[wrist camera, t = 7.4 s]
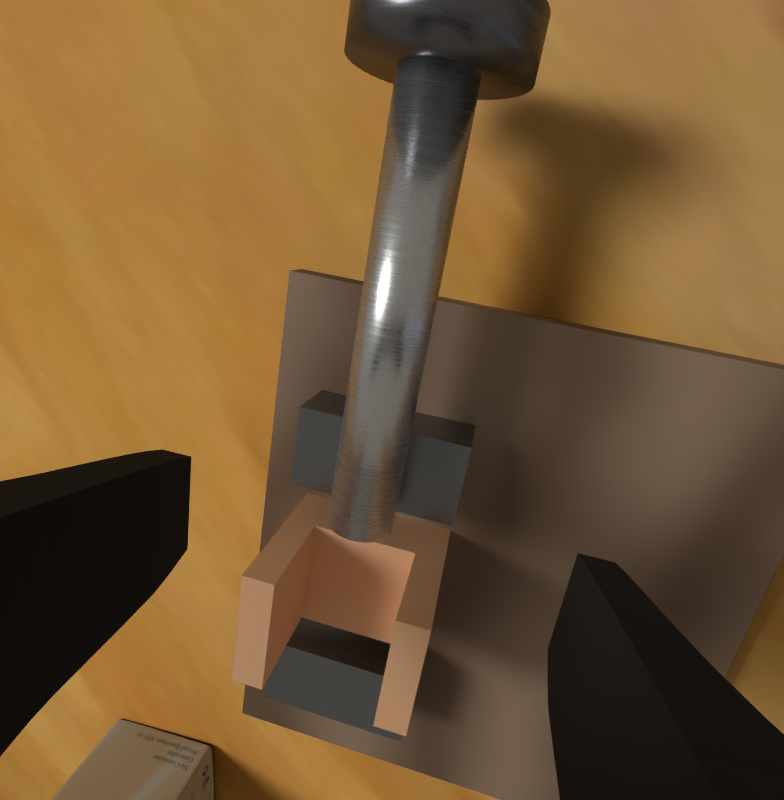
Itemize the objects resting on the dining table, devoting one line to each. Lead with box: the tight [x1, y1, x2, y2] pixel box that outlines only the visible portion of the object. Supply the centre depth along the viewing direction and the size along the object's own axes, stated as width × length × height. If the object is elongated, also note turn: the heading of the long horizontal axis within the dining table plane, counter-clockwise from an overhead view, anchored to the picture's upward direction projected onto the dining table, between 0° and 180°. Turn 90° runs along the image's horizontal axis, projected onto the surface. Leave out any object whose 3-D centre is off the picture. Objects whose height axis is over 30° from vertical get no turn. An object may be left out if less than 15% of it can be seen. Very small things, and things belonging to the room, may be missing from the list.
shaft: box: [328, 0, 550, 543], centre depth 12 cm, size 4×12×4 cm, turn 170°
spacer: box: [232, 493, 451, 736], centre depth 16 cm, size 5×4×5 cm
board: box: [242, 269, 784, 800], centre depth 18 cm, size 16×18×1 cm
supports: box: [264, 390, 475, 742], centre depth 17 cm, size 5×11×2 cm, turn 170°
